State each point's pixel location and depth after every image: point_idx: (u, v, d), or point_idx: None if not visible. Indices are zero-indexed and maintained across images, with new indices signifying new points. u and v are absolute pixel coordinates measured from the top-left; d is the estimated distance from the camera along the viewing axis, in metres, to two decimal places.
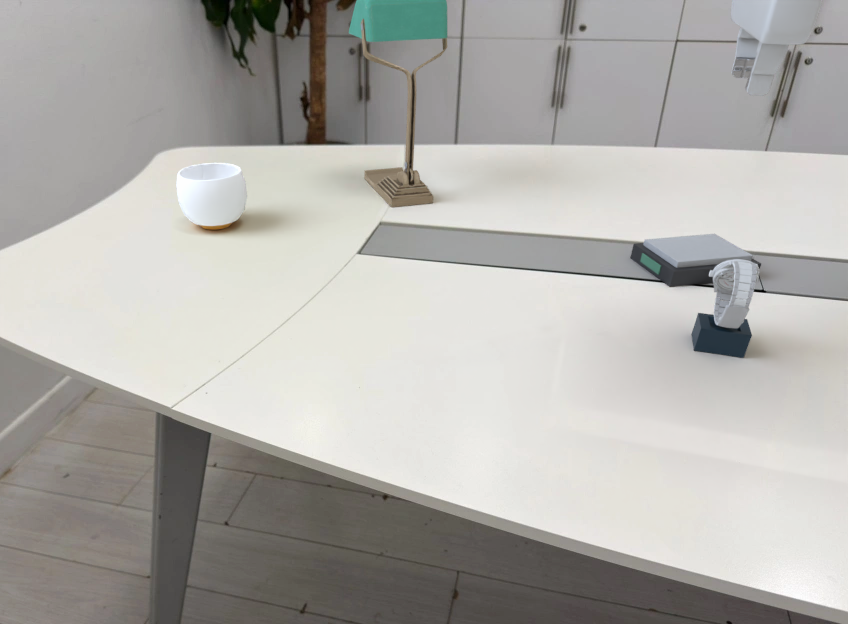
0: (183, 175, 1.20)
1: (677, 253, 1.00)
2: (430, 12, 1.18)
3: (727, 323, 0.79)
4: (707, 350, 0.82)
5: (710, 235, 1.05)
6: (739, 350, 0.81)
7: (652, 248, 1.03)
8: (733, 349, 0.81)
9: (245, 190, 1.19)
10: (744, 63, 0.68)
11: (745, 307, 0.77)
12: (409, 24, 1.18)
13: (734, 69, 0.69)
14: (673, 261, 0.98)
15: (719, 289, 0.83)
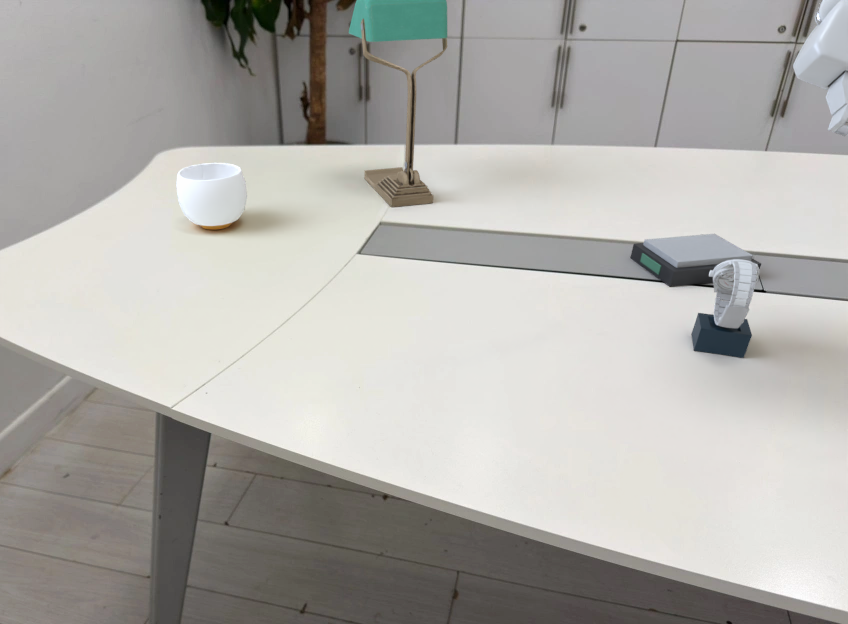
0: (183, 175, 1.20)
1: (677, 253, 1.00)
2: (430, 11, 1.18)
3: (727, 323, 0.79)
4: (707, 350, 0.82)
5: (710, 235, 1.05)
6: (739, 350, 0.81)
7: (652, 248, 1.03)
8: (733, 349, 0.81)
9: (245, 190, 1.19)
10: None
11: (745, 307, 0.77)
12: (409, 24, 1.18)
13: None
14: (673, 261, 0.98)
15: (719, 289, 0.83)
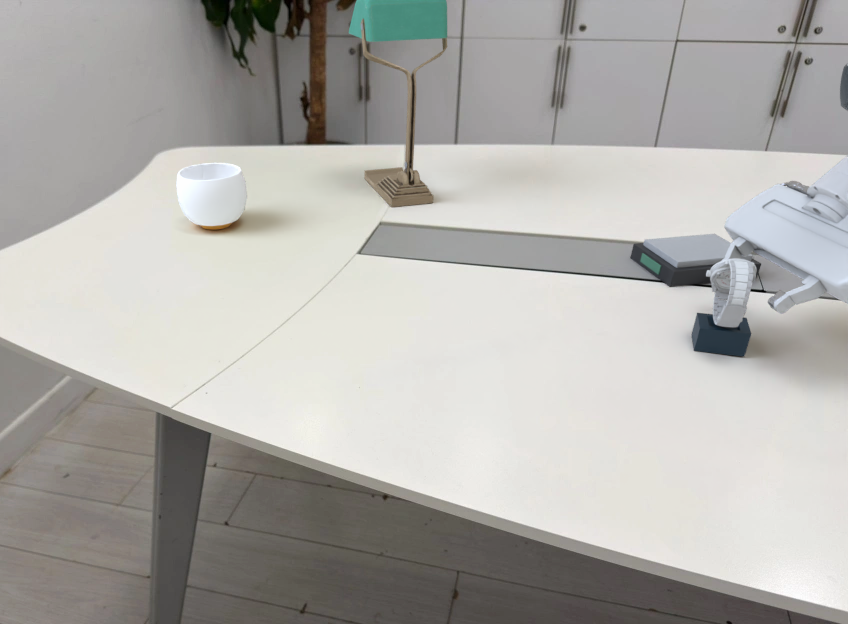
0: (183, 175, 1.20)
1: (677, 253, 1.00)
2: (430, 11, 1.18)
3: (726, 322, 0.79)
4: (707, 350, 0.82)
5: (710, 235, 1.05)
6: (739, 348, 0.81)
7: (652, 248, 1.03)
8: (733, 348, 0.81)
9: (245, 190, 1.19)
10: None
11: (743, 306, 0.77)
12: (409, 24, 1.18)
13: None
14: (673, 261, 0.98)
15: (717, 288, 0.83)
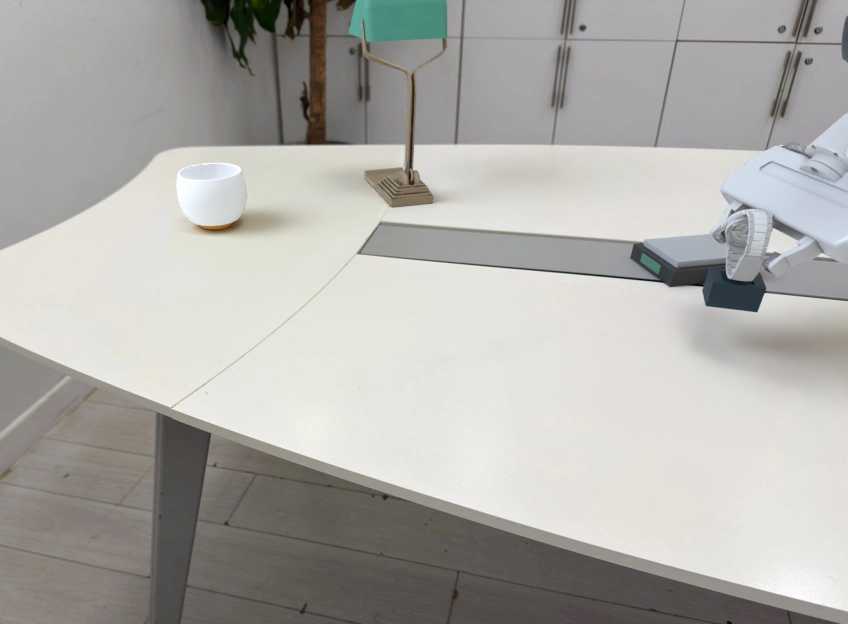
0: (183, 175, 1.20)
1: (677, 253, 1.00)
2: (430, 11, 1.18)
3: (741, 276, 0.76)
4: (719, 305, 0.80)
5: (710, 235, 1.05)
6: (753, 304, 0.78)
7: (652, 248, 1.03)
8: (746, 303, 0.78)
9: (245, 190, 1.19)
10: None
11: (760, 258, 0.74)
12: (409, 24, 1.18)
13: None
14: (673, 261, 0.98)
15: (731, 242, 0.80)
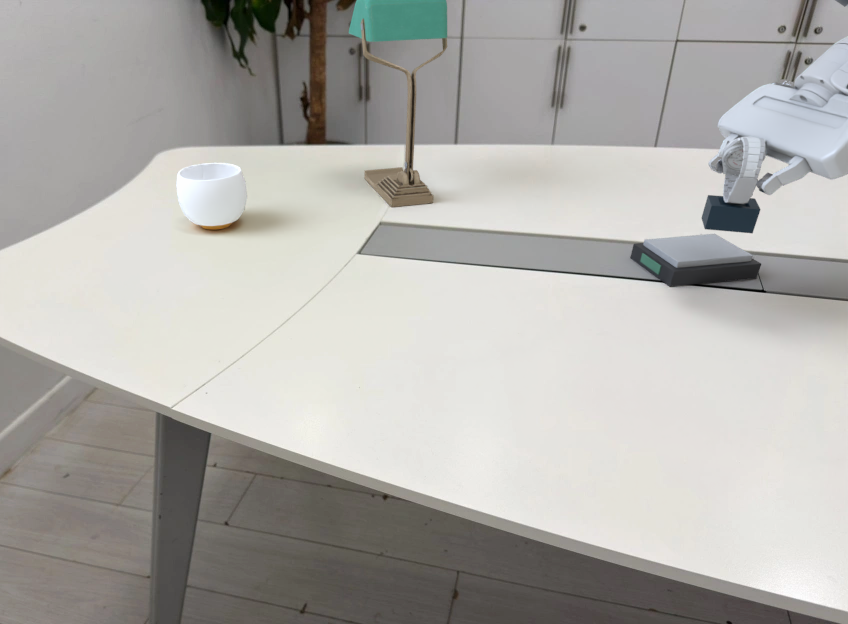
0: (183, 175, 1.20)
1: (677, 253, 1.00)
2: (430, 11, 1.18)
3: (737, 198, 0.83)
4: (717, 228, 0.86)
5: (710, 235, 1.05)
6: (748, 225, 0.85)
7: (652, 248, 1.03)
8: (742, 225, 0.85)
9: (245, 190, 1.19)
10: None
11: (754, 178, 0.81)
12: (409, 24, 1.18)
13: None
14: (673, 261, 0.98)
15: (728, 170, 0.87)
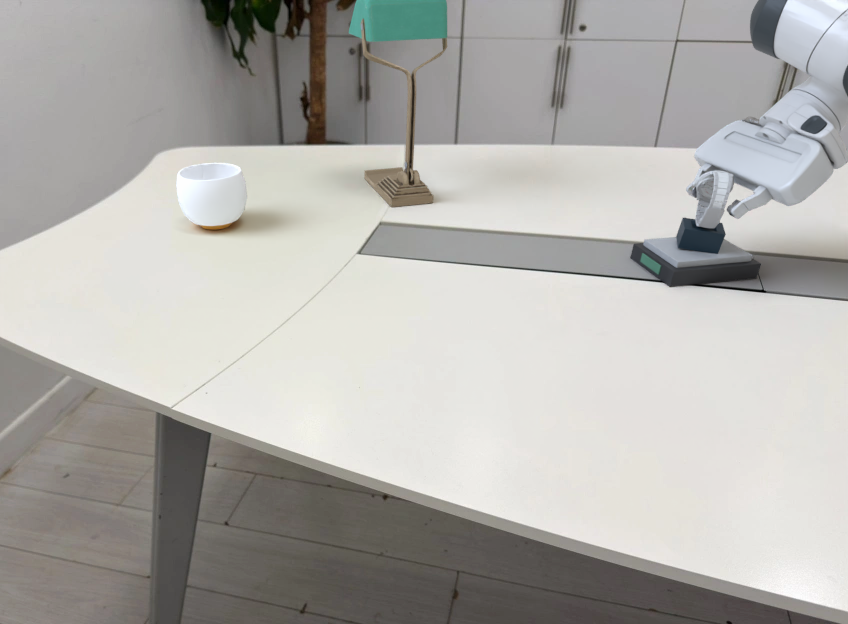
0: (183, 175, 1.20)
1: (677, 253, 1.00)
2: (430, 11, 1.18)
3: (706, 223, 0.97)
4: (689, 247, 1.00)
5: None
6: (715, 247, 0.99)
7: (652, 248, 1.03)
8: (710, 246, 0.99)
9: (245, 190, 1.19)
10: None
11: (721, 209, 0.94)
12: (409, 24, 1.18)
13: None
14: (673, 261, 0.98)
15: (701, 197, 1.01)
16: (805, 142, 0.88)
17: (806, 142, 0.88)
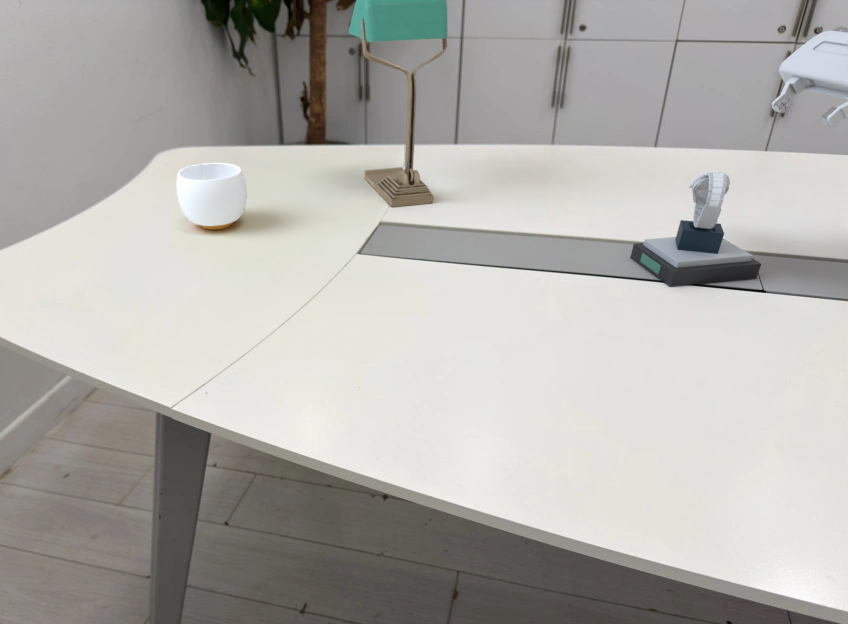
0: (183, 175, 1.20)
1: (677, 253, 1.00)
2: (430, 11, 1.18)
3: (704, 223, 0.97)
4: (688, 249, 1.00)
5: None
6: (714, 247, 0.99)
7: (652, 248, 1.03)
8: (709, 246, 0.99)
9: (245, 190, 1.19)
10: None
11: (718, 208, 0.95)
12: (409, 24, 1.18)
13: None
14: (673, 261, 0.98)
15: (697, 199, 1.01)
16: None
17: None
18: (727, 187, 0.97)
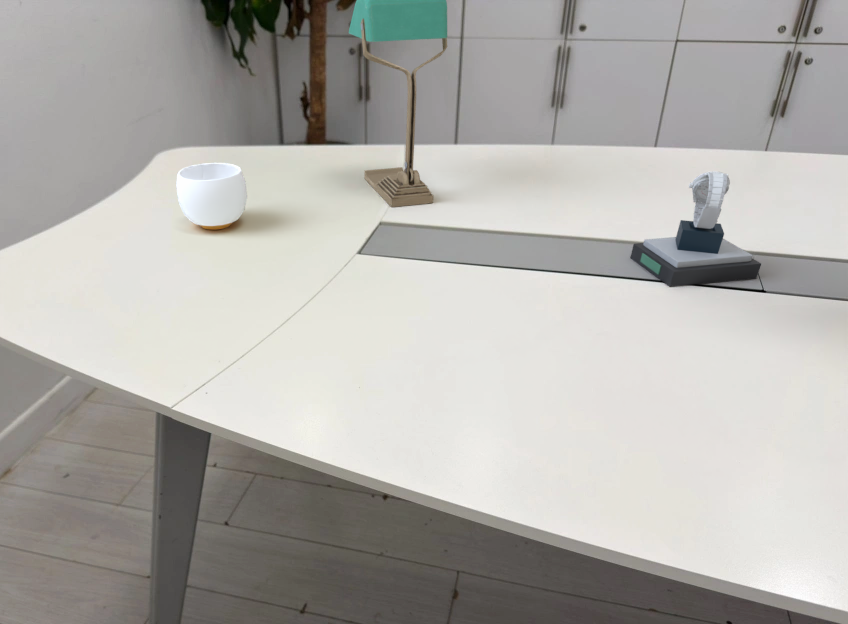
0: (183, 175, 1.20)
1: (677, 253, 1.00)
2: (430, 11, 1.18)
3: (704, 223, 0.97)
4: (688, 249, 1.00)
5: None
6: (714, 247, 0.99)
7: (652, 248, 1.03)
8: (709, 246, 0.99)
9: (245, 190, 1.19)
10: None
11: (718, 208, 0.95)
12: (409, 24, 1.18)
13: None
14: (673, 261, 0.98)
15: (697, 199, 1.01)
16: None
17: None
18: (727, 187, 0.97)
